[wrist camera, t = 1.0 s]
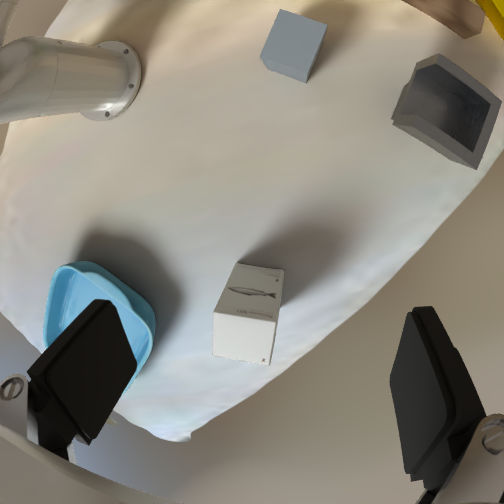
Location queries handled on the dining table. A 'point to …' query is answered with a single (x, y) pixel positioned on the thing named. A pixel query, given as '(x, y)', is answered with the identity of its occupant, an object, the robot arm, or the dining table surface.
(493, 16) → the element tile
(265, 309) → the supplement box
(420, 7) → the rail
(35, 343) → the dining table surface
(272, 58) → the grey blue block
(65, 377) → the robot arm
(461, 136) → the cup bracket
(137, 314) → the casserole dish
